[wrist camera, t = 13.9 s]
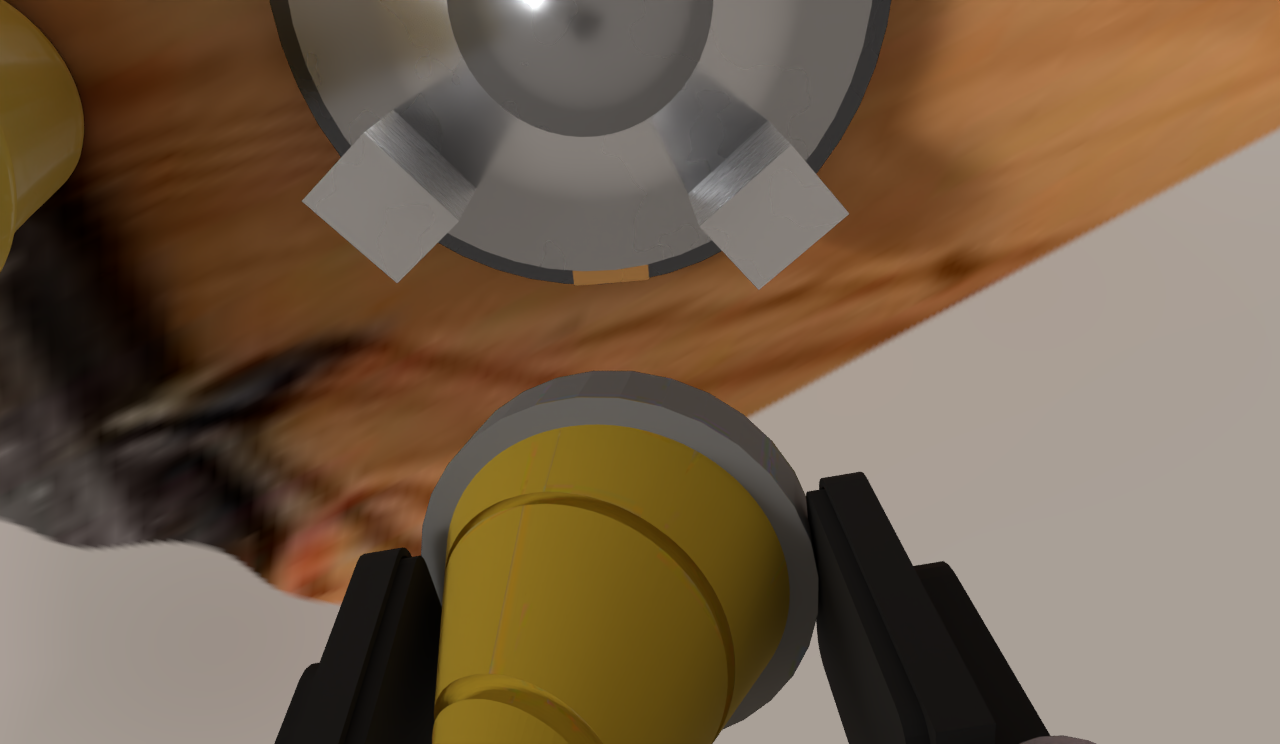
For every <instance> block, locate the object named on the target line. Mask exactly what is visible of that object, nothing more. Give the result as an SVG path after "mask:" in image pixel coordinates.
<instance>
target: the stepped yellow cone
mask: <svg viewBox="0 0 1280 744" xmlns="http://www.w3.org/2000/svg"><path fill="white" fill-rule="evenodd" d="M421 556H422V557H423V558H424V560H425V562H426V564H427V567H428V570H429V572H430V575H431V578H432V581H433V584H434V586H435V589H436V592H437V595H438V597H439V600H440V603H441V606H442V614H441V627H440V640H439V653H438V667H437V680H436V693H435V706H434V725H433V732H432V744H712V743H713V742H714V741H715V739H716V738H717V736H718V735H719V733H720V732H721V730H722V729H725V728H727V727H729V726H731V725H733V724H736V723H738V722H740V721H742V720H744V719H745V718H747V717H748V716H750V715H751V714H753V713H754V712H755V711H757V710H758V709H759V708H761V707H762V706H764V705H765V704H766V703H768V702H769V701H771V700H772V698H773V697H774V696H775V695H776V694H777V693H778V692H779V691H780V690H781V689H782V687H783V686H784V685H785V684H786V683H787V682H788V680H790V678H791V677H792V676H793V675H794V673H795V671H796V669H797V668H798V666H799V664H800V662H801V660H802V658H803V657H804V655H805V652H806V651H807V649H808V647H809V645H810V641H811V637H812V633H813V630H814V626H815V622H816V618H817V615H818V579H819V578H818V568H817V563H816V557H815V551H814V546H813V540H812V535H811V529H810V525H809V521H808V515H807V503H806V496H805V494H804V491H803V489H802V487H801V485H800V482H799V480H798V478H797V476H796V474H795V472H794V470H793V469H792V467H791V466H790V465H789V463H788V462H787V461H786V459H785V458H784V456H783V455H782V454H781V452H780V451H779V450H778V448H777V447H776V446H775V444H774V443H773V441H772V440H770V439H769V438H768V437H767V436H766V435H765V434H764V433H763V432H762V431H761V430H760V429H758V428H757V427H756V426H755V425H754V424H753V423H752V422H751V421H750V420H749V419H748V418H747V417H745V416H744V415H743V414H742V413H740V412H738V411H737V410H735V409H734V408H732V407H730V406H729V405H727V404H726V403H724V402H722V401H721V400H719V399H717V398H716V397H714V396H713V395H711V394H709V393H707V392H704V391H702V390H699V389H697V388H694V387H692V386H689V385H687V384H684V383H681V382H679V381H676V380H674V379H671V378H665V377H660V376H655V375H650V374H645V373H640V372H635V371H591V372H585V373H580V374H575V375H569V376H564V377H559V378H555V379H553V380H551V381H548V382H546V383H543V384H541V385H538V386H536V387H533V388H531V389H529V390H526V391H524V392H522V393H521V394H519V395H518V396H517V397H515V398H514V399H512V400H511V401H509V402H508V403H506V404H505V405H503V406H502V407H501V408H499V409H498V410H496V411H495V412H494V413H493V414H492V415H491V417H490V418H489V419H488V420H487V421H486V422H485V423H484V424H483V425H482V426H481V427H480V429H479V430H478V431H477V432H476V433H475V434H474V435H473V436H472V437H471V439H470V440H469V441H468V442H467V443H466V444H465V445H464V447H463V448H462V449H461V450H460V451H459V452H458V454H457V455H456V456H455V457H454V458H453V459H452V461H451V462H450V463H449V464H448V465H447V467H446V469H445V471H444V472H443V474H442V476H441V478H440V480H439V481H438V483H437V485H436V487H435V489H434V490H433V492H432V494H431V497H430V501H429V505H428V508H427V512H426V515H425V519H424V522H423V528H422V549H421Z"/></svg>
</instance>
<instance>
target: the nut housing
mask: <svg viewBox="0 0 1280 744" xmlns="http://www.w3.org/2000/svg"><path fill="white" fill-rule="evenodd" d="M890 4H891V0H872V6H871V11H870V16H869V20H868V25H867V30H866V35H865V40H864V44H863V48H862V51H861V54H860V57H859V60H858V63H857V66H856V69H855V72H854V75H853V78H852V81H851V83H850V86H849V88H848V90H847V92H846V94H845V96H844V98H843V101H842V103H841V105H840V107H839V109H838V111H837V113H836V116H835V118H834V119H833V121H832V123H831V124H830V126H829V127H828V129H827V131H826V132H825V134H824V135H823V137H822V139H821V140H820V142H819V144H818V145H817V147H816V148H815V150H814V151H813V152H812V154H811V155H810V156H809V157H808V159H807V160H806V163H807V164H808V165H809V166H810V167H811V169H812V170H813V171H814V172H815V173H817V172H818V171H819V169H820V168H821V167H822V165H823V164H824V162H825V161H826V160H827V158H828V157H829V155H830V154H831V153H832V151H833V150H834V148H835V147H836V146H837V144H838V143H839V141H840V140H841V138H842V136H843V134H844V133H845V131H846V129H847V127H848V125H849V124H850V122H851V120H852V118H853V116H854V115H855V113H856V111H857V109H858V107H859V105H860V103H861V101H862V98H863V96H864V93H865V91H866V89H867V86H868V84H869V81H870V79H871V76H872V74H873V71H874V69H875V67H876V63H877V59H878V56H879V52H880V49H881V45H882V42H883V38H884V34H885V31H886V27H887V23H888V16H889V10H890ZM270 5H271V8H272V12H273V16H274V19H275V23H276V27H277V30H278V34H279V38H280V41H281V45H282V48H283V50H284V53H285V55H286V58H287V60H288V63H289V65H290V68H291V70H292V73H293V75H294V78H295V80H296V83H297V85H298V88H299V89H300V91H301V93H302V95H303V97H304V99H305V101H306V102H307V104H308V106H309V108H310V110H311V112H312V114H313V115H314V117H315V119H316V121H317V123H318V125H319V126H320V128H321V129H322V130H323V132H324V133H325V135H326V136H327V138H328V139H329V140H330V142H331V143H332V145H333V146H334V148H335V149H336V151H337V152H338V153H339V155H340V156H341V157H342V156H343V155H344V154H345V153H346V152H347V151H348V150H349V148H350V147H351V145H350V143H349V142H348V141H347V140H346V138H345V137H344V136H343V134H342V132H341V131H340V129H339V127H338V126H337V124H336V122H335V121H334V119H333V117H332V116H331V114H330V113H329V111H328V109H327V108H326V106H325V104H324V103H323V100H322V98H321V96H320V94H319V92H318V90H317V87H316V85H315V83H314V81H313V79H312V77H311V74H310V72H309V70H308V68H307V66H306V63H305V60H304V57H303V54H302V51H301V48H300V45H299V42H298V38H297V35H296V32H295V29H294V26H293V22H292V17H291V12H290V7H289V2H288V0H270ZM438 243H440V244H442V245H443V246H445V247H447V248H449V249H451V250H453V251H454V252H456V253H458V254H460V255H462V256H464V257H467V258H469V259H472V260H474V261H476V262H479V263H481V264H484V265H486V266H489V267H491V268H494V269H497V270H500V271H504V272H508V273H511V274H515V275H519V276H523V277H526V278H530V279H537V280H544V281H551V282H558V283H564V284H574V286H580V285H592V284H608V283H618V282H628V281H640V280H649V277H653V276H658V275H662V274H666V273H670V272H673V271H676V270H678V269H681V268H684V267H687V266H689V265H692V264H695V263H698V262H700V261H703V260H705V259H707V258H709V257H711V256H713V255H715V254H717V253H719V252H720V251H722V250H721V249H720V248H719V247H718V246H717V245H716V244H715V243H714V242H713V241H710V242H708V243H706V244H703V245H701V246H699V247H697V248H694V249H692V250H690V251H688V252H685V253H683V254H681V255H678V256H674V257H671V258H668V259H664V260H661V261H658V262H654V263H651V264H647V265H642V266H636V267H630V268H624V269H618V270H601V271H573V270H560V269H549V268H544V267H539V266H534V265H529V264H525V263H520V262H515V261H513V260H510V259H507V258H504V257H501V256H498V255H495V254H492V253H489V252H486V251H483V250H481V249H479V248H477V247H475V246H473V245H471V244H468V243H466V242H464V241H462V240H460V239H458V238H456V237H454V236H452V235H450V234H449V233H447V234H446V235H445V236H444V237H443V238H442V239H441V240H440V241H439V242H438Z"/></svg>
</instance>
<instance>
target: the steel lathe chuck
mask: <svg viewBox="0 0 1280 744" xmlns="http://www.w3.org/2000/svg"><path fill="white" fill-rule="evenodd" d="M288 2H289V7H290V12H291V17H292V22H293V26H294V29H295V32H296V35H297V38H298V42H299V45H300V48H301V51H302V54H303V57H304V60H305V63H306V66H307V68H308V70H309V72H310V74H311V77H312V79H313V81H314V83H315V85H316V87H317V90H318V92H319V94H320V96H321V98H322V100H323V103H324V104H325V106H326V108H327V109H328V111H329V113H330V114H331V116H332V117H333V119H334V121H335V122H336V124H337V126H338V127H339V129H340V131H341V132H342V134H343V136H344V137H345V138H346V140H347V141H348V142H349V143H350V145H351V147H350V148H349V150H348V151H347V152H346V153H345V154H344V155H343V156H342V157H341V158H340V159H339V161H338V162H337V163H336V164H335V165H334V166H333V167H332V168H331V169H330V170H329V172H328V173H327V174H326V175H325V176H324V177H323V178H322V179H321V180H320V181H319V183H318V184H317V185H316V186H315V187H314V188H313V189H312V190H311V191H310V192H309V194H308V195H307V196H306V197H305V198H304V199H303V200H302V202H303V203H304V204H306V205H307V206H308V207H309V208H310V209H311V210H313V211H314V212H315V213H316V214H317V215H318V216H320V217H321V218H322V219H323V220H324V221H325V222H326V223H328V224H329V225H330V226H331V227H332V228H333V229H335V230H336V231H337V232H338V233H339V234H340V235H342V236H343V237H344V238H345V239H346V240H347V241H348V242H350V243H351V244H352V245H353V246H354V247H355V248H357V249H358V250H359V251H360V252H361V253H362V254H364V255H365V256H366V257H367V258H368V259H369V260H371V261H372V262H373V263H374V264H375V265H376V266H377V267H379V268H380V269H381V270H382V271H383V272H384V273H386V274H387V275H388V276H389V277H390V278H391V279H393V280H394V281H395V282H396V283H398V282H399V281H400V280H401V279H402V278H403V277H404V276H405V275H406V274H407V273H408V272H409V271H410V270H411V269H412V268H413V267H414V266H415V265H416V264H417V263H418V262H419V261H420V260H421V259H422V258H423V257H424V256H425V255H426V254H427V253H428V252H429V251H430V250H431V249H432V248H433V247H434V246H435V245H436V244H437V243H438V242H439V241H440V240H441V239H442V238H443V237H444V236H445V235H446V234H447V233H449V234H450V235H452V236H454V237H456V238H458V239H460V240H462V241H464V242H466V243H468V244H471V245H473V246H475V247H477V248H479V249H481V250H483V251H486V252H489V253H492V254H495V255H498V256H501V257H504V258H507V259H510V260H513V261H515V262H520V263H525V264H529V265H534V266H539V267H544V268H549V269H560V270H573V271H601V270H618V269H624V268H630V267H636V266H642V265H647V264H651V263H654V262H658V261H661V260H664V259H668V258H671V257H674V256H678V255H681V254H683V253H685V252H688V251H690V250H692V249H694V248H697V247H699V246H701V245H703V244H706V243H708V242H710V241H713V242H714V243H715V244H716V245H717V246H718V247H719V248H720V249H721V250H722V251H723V252H724V253H725V254H726V256H727V257H728V258H729V259H730V260H731V261H732V262H733V263H734V264H735V265H736V266H737V267H738V268H739V269H740V271H741V272H742V273H743V274H744V275H745V276H746V277H747V278H748V279H749V280H750V281H751V282H752V283H753V284H754V285H755V287H756V288H757V289H758V290H759V289H761V288H762V287H763V286H764V285H765V284H767V283H768V282H769V281H770V280H771V279H773V278H774V277H775V276H776V275H777V274H778V273H780V272H781V271H782V270H783V269H784V268H786V267H787V266H788V265H789V264H790V263H792V262H793V261H794V260H795V259H796V258H798V257H799V256H800V255H801V254H802V253H803V252H805V251H806V250H807V249H808V248H809V247H811V246H812V245H813V244H814V243H815V242H817V241H818V240H819V239H820V238H821V237H823V236H824V235H825V234H826V233H827V232H828V231H830V230H831V229H832V228H833V227H834V226H836V225H837V224H838V223H839V222H840V221H842V220H843V219H844V218H845V217H846V216H847V215H849V213H848V212H847V210H846V209H845V208H844V207H843V206H842V204H841V203H840V202H839V201H838V200H837V198H836V197H835V196H834V195H833V194H832V192H831V191H830V190H829V189H828V188H827V187H826V185H825V184H824V183H823V182H822V181H821V179H820V178H819V177H818V176H817V175H816V173H815V172H814V171H813V170H812V169H811V167H810V166H809V165H808V164H807V163H806V160H807V159H808V157H809V156H810V155H811V154H812V152H813V151H814V150H815V148H816V147H817V145H818V144H819V142H820V140H821V139H822V137H823V135H824V134H825V132H826V131H827V129H828V127H829V126H830V124H831V123H832V121H833V119H834V118H835V116H836V113H837V111H838V109H839V107H840V105H841V103H842V101H843V98H844V96H845V94H846V92H847V90H848V88H849V86H850V83H851V81H852V78H853V75H854V72H855V69H856V66H857V63H858V60H859V57H860V54H861V51H862V48H863V44H864V40H865V35H866V30H867V25H868V20H869V16H870V11H871V6H872V0H288Z"/></svg>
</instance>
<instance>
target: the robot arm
mask: <svg viewBox="0 0 1280 744" xmlns="http://www.w3.org/2000/svg"><path fill="white" fill-rule="evenodd" d="M806 503H807V515H808V521H809V525H810V529H811V535H812V540H813V546H814V551H815V557H816V563H817V568H818V578H819V579H818V615H817V618H816V622H817V634H818V643H819V649H820V654H821V658H822V662H823V666H824V669H825V672H826V675H827V678H828V681H829V684H830V687H831V691H832V693H833V697H834V700H835V703H836V706H837V709H838V712H839V715H840V718H841V721H842V724H843V727H844V730H845V733H846V736H847V739H848V742H849V744H1096V743H1093V742H1091V741H1088V740H1083V739H1078V738H1073V737H1068V736H1050V734H1049V733H1048V731H1047V729H1046V727H1045V726H1044V724H1043V723H1042V721H1041V719H1040V718H1039V716H1038V714H1037V712H1036V711H1035V709H1034V707H1033V705H1032V704H1031V702H1030V700H1029V699H1028V697H1027V695H1026V693H1025V692H1024V690H1023V689H1022V687H1021V685H1020V683H1019V682H1018V680H1017V678H1016V676H1015V675H1014V673H1013V671H1012V670H1011V668H1010V666H1009V665H1008V663H1007V661H1006V659H1005V658H1004V656H1003V654H1002V653H1001V651H1000V649H999V647H998V646H997V644H996V642H995V641H994V639H993V637H992V636H991V634H990V632H989V631H988V629H987V627H986V625H985V624H984V622H983V620H982V618H981V617H980V615H979V613H978V612H977V610H976V608H975V607H974V605H973V603H972V601H971V600H970V598H969V596H968V595H967V593H966V591H965V590H964V588H963V586H962V584H961V583H960V581H959V579H958V578H957V576H956V574H955V573H954V571H953V570H952V569H951V568H950V566H949V565H948V564H947V563H945V562H943V561H942V562H936V563H930V564H924V565H917V566H913V565H912V563H911V561H910V559H909V558H908V555H907V554H906V552H905V550H904V548H903V546H902V544H901V542H900V540H899V539H898V536H897V535H896V533H895V531H894V529H893V527H892V525H891V523H890V521H889V519H888V517H887V516H886V514H885V512H884V510H883V508H882V506H881V504H880V502H879V500H878V498H877V497H876V495H875V493H874V491H873V489H872V487H871V485H870V483H869V481H868V480H867V478H866V476H865V475H864V473H862V472H856V473H851V474H844V475H839V476H832V477H826V478H821V479H820V482H819V490H815V491H809V492H807V493H806ZM441 614H442V606H441V603H440V600H439V597H438V595H437V592H436V589H435V586H434V584H433V581H432V578H431V575H430V572H429V570H428V567H427V564H426V562H425V560H424V558H423V557H422V556H415V557H411V554H410V552H409V551H408V550H407V549H406V548H397V549H391V550H385V551H379V552H373V553H367V554H363V555H362V556H360V558H359V560H358V562H357V564H356V567H355V570H354V572H353V575H352V578H351V580H350V583H349V586H348V588H347V591H346V594H345V596H344V599H343V602H342V604H341V607H340V610H339V612H338V615H337V618H336V621H335V623H334V626H333V628H332V631H331V634H330V636H329V639H328V642H327V644H326V647H325V650H324V652H323V655H322V658H321V661H320V663H315V664H311V665H310V666H309V667H308V668H306V670H305V671H304V673H303V675H302V676H301V678H300V680H299V682H298V685H297V688H296V690H295V693H294V695H293V698H292V701H291V703H290V706H289V708H288V710H287V713H286V716H285V718H284V721H283V723H282V726H281V728H280V731H279V733H278V736H277V738H276V741H275V744H432V732H433V725H434V706H435V693H436V680H437V667H438V653H439V640H440V627H441Z"/></svg>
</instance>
